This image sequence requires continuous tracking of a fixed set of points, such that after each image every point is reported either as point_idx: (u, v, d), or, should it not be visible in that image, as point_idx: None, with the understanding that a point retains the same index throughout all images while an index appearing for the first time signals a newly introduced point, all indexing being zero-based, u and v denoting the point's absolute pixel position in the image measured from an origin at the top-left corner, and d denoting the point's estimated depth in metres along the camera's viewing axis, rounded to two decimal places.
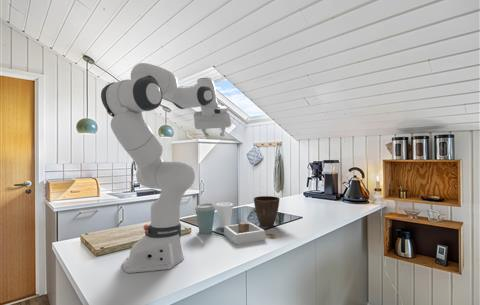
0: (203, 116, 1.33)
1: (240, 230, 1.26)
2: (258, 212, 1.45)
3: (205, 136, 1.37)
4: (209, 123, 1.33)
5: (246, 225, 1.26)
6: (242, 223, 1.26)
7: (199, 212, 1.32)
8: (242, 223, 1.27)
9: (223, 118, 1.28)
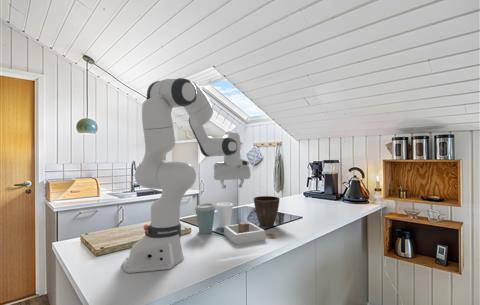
0: (227, 167, 1.34)
1: (240, 230, 1.26)
2: (258, 212, 1.45)
3: (224, 188, 1.34)
4: (232, 174, 1.35)
5: (246, 225, 1.26)
6: (242, 223, 1.26)
7: (199, 212, 1.32)
8: (242, 223, 1.27)
9: (247, 170, 1.39)
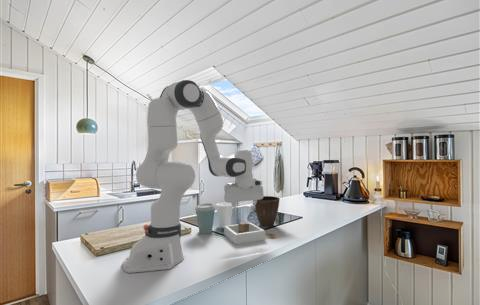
0: (239, 188, 1.24)
1: (240, 230, 1.26)
2: (258, 212, 1.45)
3: (235, 210, 1.25)
4: (244, 196, 1.25)
5: (246, 225, 1.26)
6: (242, 223, 1.26)
7: (199, 212, 1.32)
8: (242, 223, 1.27)
9: (260, 190, 1.29)
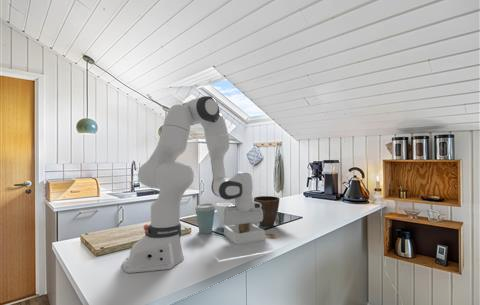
0: (238, 211, 1.24)
1: None
2: None
3: (238, 233, 1.25)
4: (243, 219, 1.25)
5: (246, 225, 1.26)
6: None
7: (199, 212, 1.32)
8: None
9: (260, 212, 1.29)
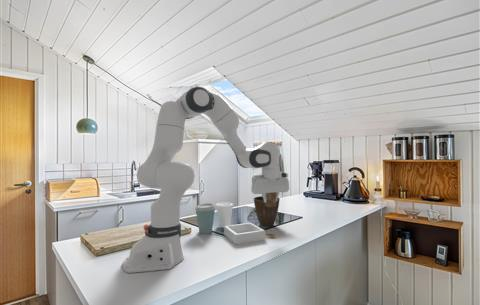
0: (266, 180, 1.26)
1: None
2: (258, 212, 1.45)
3: (266, 201, 1.27)
4: (271, 188, 1.27)
5: (273, 194, 1.27)
6: None
7: (199, 212, 1.32)
8: None
9: (286, 182, 1.30)
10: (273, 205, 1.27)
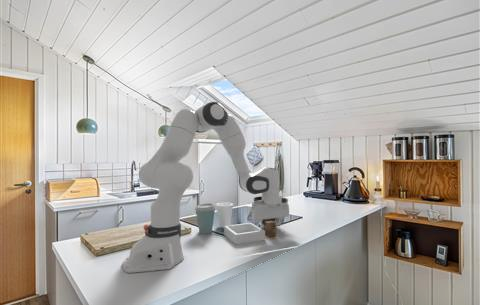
0: (266, 205, 1.26)
1: (267, 229, 1.28)
2: None
3: (262, 228, 1.26)
4: (271, 213, 1.27)
5: (273, 224, 1.27)
6: (269, 222, 1.28)
7: (199, 212, 1.32)
8: (269, 222, 1.28)
9: (286, 207, 1.30)
10: (273, 235, 1.27)
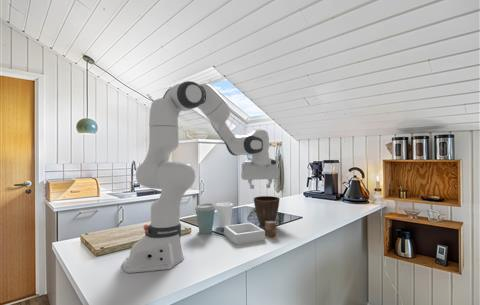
0: (255, 166, 1.29)
1: (267, 229, 1.28)
2: (258, 212, 1.45)
3: (252, 188, 1.29)
4: (260, 174, 1.30)
5: (273, 224, 1.27)
6: (269, 222, 1.28)
7: (199, 212, 1.32)
8: (269, 222, 1.28)
9: (275, 169, 1.33)
10: (273, 235, 1.27)
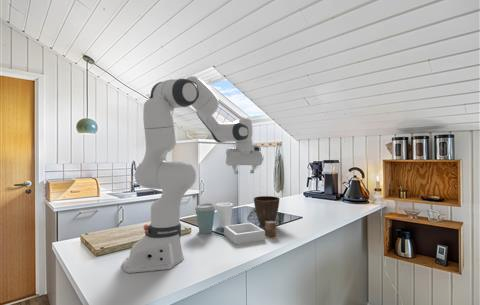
0: (239, 152, 1.35)
1: (267, 229, 1.28)
2: (258, 212, 1.45)
3: (236, 173, 1.36)
4: (244, 160, 1.36)
5: (273, 224, 1.27)
6: (269, 222, 1.28)
7: (199, 212, 1.32)
8: (269, 222, 1.28)
9: (259, 156, 1.40)
10: (273, 235, 1.27)
